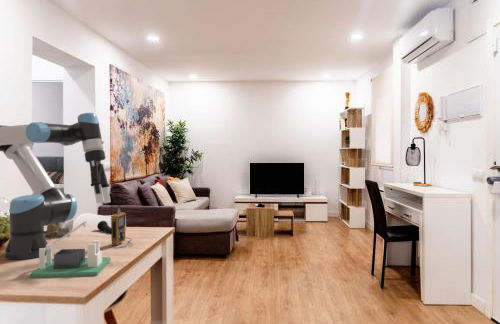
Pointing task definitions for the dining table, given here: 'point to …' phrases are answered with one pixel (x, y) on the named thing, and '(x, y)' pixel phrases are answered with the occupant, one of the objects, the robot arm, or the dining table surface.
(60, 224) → the ceramic sculpture
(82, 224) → the clamp bar
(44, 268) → the circuit board
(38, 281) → the dining table surface
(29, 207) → the robot arm
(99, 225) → the microphone
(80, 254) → the heat sink
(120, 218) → the multimeter
